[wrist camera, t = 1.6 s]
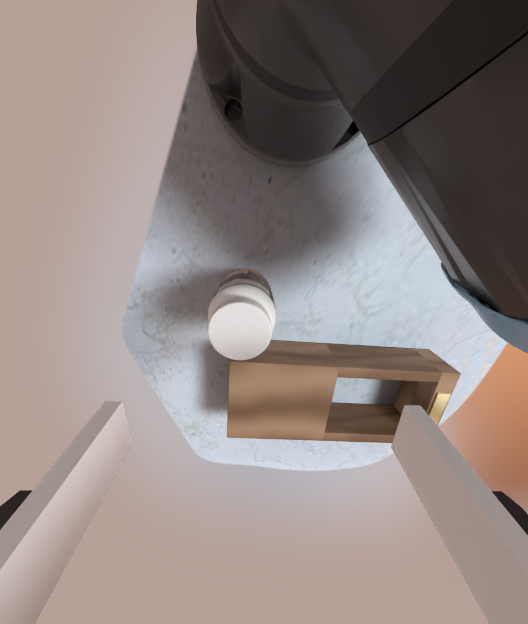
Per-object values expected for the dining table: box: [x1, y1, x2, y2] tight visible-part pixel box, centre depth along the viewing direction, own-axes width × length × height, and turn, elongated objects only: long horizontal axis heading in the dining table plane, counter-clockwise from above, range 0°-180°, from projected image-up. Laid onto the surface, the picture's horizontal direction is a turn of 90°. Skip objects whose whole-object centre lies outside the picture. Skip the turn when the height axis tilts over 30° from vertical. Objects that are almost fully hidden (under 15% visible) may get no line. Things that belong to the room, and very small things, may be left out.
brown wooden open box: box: [227, 340, 461, 443], centre depth 29 cm, size 10×24×5 cm, turn 85°
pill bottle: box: [208, 269, 276, 360], centre depth 22 cm, size 6×6×10 cm
